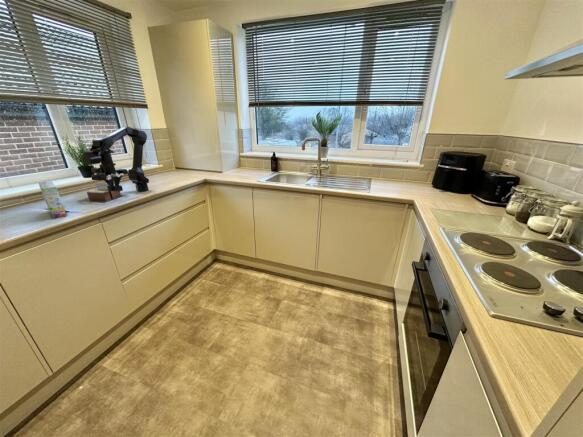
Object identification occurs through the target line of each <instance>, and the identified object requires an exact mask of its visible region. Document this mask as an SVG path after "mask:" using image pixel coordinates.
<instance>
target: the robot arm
mask: <svg viewBox="0 0 583 437" xmlns="http://www.w3.org/2000/svg"><path fill="white" fill-rule="evenodd" d="M126 136H127V137H130V139H131V141H132V144H133V151H132V152H133V154H132V167H131V168H129V169H126V168H118V169H116V167H115V166H116V165H117V164H116V163H115V162H114V161H113V160H114V159H113V156H112V154H114V153H115V151H114V150H112V149H111V148H112V147H113V146H114V144H115V143H116V142H118V141H119V140H121V139H123V138H124V137H126ZM147 138H148V135H147V134H146V132H145V131H144V130H140V129H136V128H133V127H130V126H121V127H120V128H119V129H117V130H115V131H113V132H112V133H110V134H108V135H104V136H100V137H97V138H94V139H92V140H91V142H92V144H91V147H90V149H89V151H83V152H82V156H81V160H82V162H83V163H84V165H86V166H91V165H99V167H96V166H94V167H91V173H92V175H91V180H92V181H100V182H101V181H104V182H105V184H108V185H109V186H110V188H111V189H112V190H114V185H120V183H121V180H122V178H123V175H125V176H126V175H127V176H128V179H129V181H130V182H131V183H132V184H134V186H135V190H136V192H137V193H145V192H148V191H150V190H149V186H148V184H150V178H148V177H147V176H145V172H144V170H143V157H144V156H143V154H144V145H146V143H147ZM121 174H123V175H121Z"/></svg>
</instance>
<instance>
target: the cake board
mask: <svg viewBox="0 0 583 437" xmlns="http://www.w3.org/2000/svg"><path fill="white" fill-rule="evenodd" d="M127 196H128V194H121V195H120V196H117V197H114V198H111V199H108V200H92V199H89V198H88V197H85V198H83V199H80V200H79V199H78V202H81V203H82V202H83V203H94V204H95V203H97V204H106V203H110V202H111V201H114V200H118V199H120V198H124V197H127Z"/></svg>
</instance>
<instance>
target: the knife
mask: <svg viewBox="0 0 583 437" xmlns="http://www.w3.org/2000/svg"><path fill="white" fill-rule="evenodd" d="M94 185H95V187H96V188H97V190H108V191H120V192H123V191H124V189H123V185H120V184H119V185H115V184H114V190H112V189H111V188H110V186H109V185H108V184H107V183H102V182H101V183H99V182H95V184H94Z"/></svg>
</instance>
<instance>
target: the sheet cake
mask: <svg viewBox="0 0 583 437" xmlns="http://www.w3.org/2000/svg"><path fill="white" fill-rule="evenodd" d="M93 190H97V187H96V188H94V189H93ZM109 194H110V197H111V198H114V197H117V196H120V195H122V194H121V191H109Z"/></svg>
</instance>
